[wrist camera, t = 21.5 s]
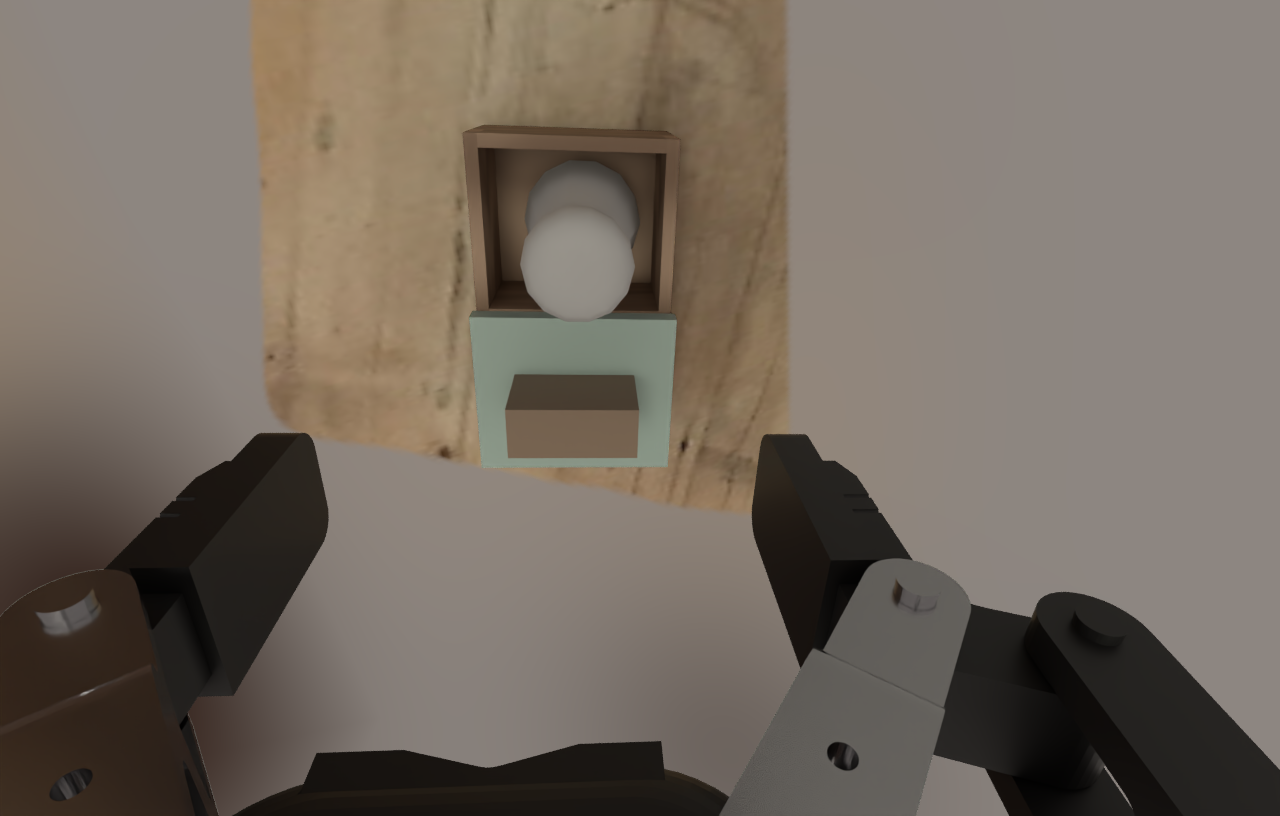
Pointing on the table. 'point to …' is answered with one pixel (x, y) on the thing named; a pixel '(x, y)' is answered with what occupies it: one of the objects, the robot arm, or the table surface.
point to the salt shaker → (579, 241)
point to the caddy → (513, 166)
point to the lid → (573, 389)
